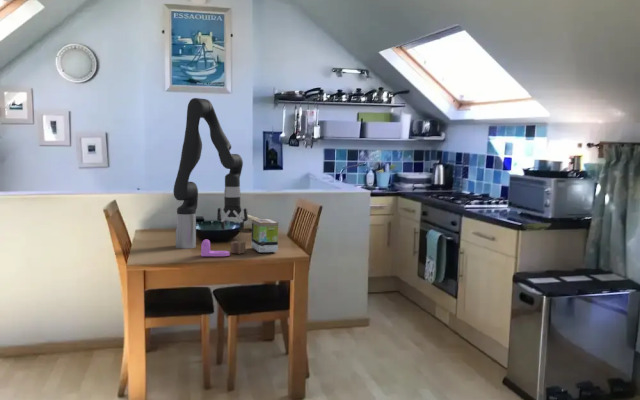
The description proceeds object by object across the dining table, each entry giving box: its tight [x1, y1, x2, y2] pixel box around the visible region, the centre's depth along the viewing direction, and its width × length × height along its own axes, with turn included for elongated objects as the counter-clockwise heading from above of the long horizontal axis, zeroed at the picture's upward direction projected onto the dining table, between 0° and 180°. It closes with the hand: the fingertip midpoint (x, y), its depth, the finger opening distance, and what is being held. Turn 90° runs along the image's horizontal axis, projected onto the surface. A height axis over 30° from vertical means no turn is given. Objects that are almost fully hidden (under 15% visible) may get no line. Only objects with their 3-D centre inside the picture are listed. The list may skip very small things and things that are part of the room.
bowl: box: [247, 214, 260, 230], centre depth 326 cm, size 15×14×10 cm
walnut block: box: [230, 240, 246, 255], centre depth 262 cm, size 5×5×5 cm
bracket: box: [200, 239, 231, 257], centre depth 255 cm, size 13×6×7 cm, turn 98°
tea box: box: [251, 218, 279, 253], centre depth 269 cm, size 15×10×15 cm
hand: (232, 229), depth 258 cm, fingers open, 8 cm apart
